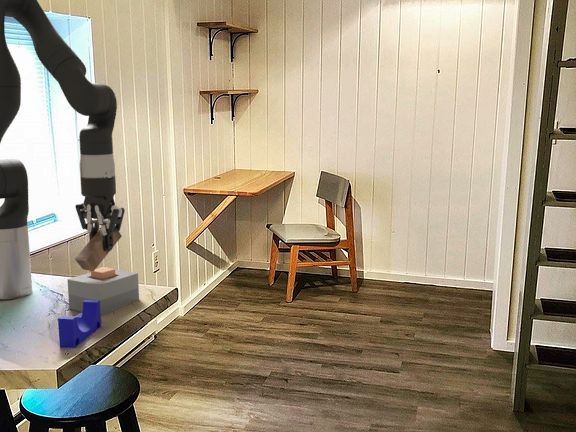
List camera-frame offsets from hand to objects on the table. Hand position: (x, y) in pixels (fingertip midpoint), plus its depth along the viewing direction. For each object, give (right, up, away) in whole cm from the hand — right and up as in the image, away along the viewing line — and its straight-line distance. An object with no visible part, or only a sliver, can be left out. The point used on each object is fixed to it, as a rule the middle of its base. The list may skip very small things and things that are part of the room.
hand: (101, 249), depth 146 cm
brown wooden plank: (-3, -3, -4) cm, 6 cm away
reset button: (0, -8, +1) cm, 8 cm away
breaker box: (0, -13, +2) cm, 13 cm away
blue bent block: (0, -17, -17) cm, 24 cm away
